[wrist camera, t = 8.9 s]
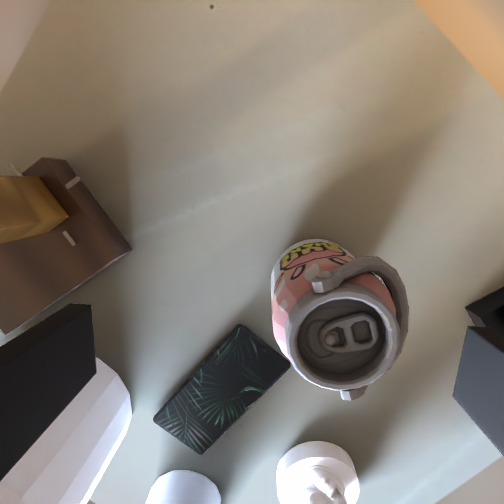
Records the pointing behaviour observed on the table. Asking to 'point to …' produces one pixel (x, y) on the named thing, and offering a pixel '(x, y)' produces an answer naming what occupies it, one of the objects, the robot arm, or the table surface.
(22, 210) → the tan wooden block
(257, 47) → the table surface
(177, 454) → the table surface
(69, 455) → the container
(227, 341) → the smartphone
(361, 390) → the beverage can
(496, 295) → the box
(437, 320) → the table surface
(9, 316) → the plate
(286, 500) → the character figurine
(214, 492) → the cup
